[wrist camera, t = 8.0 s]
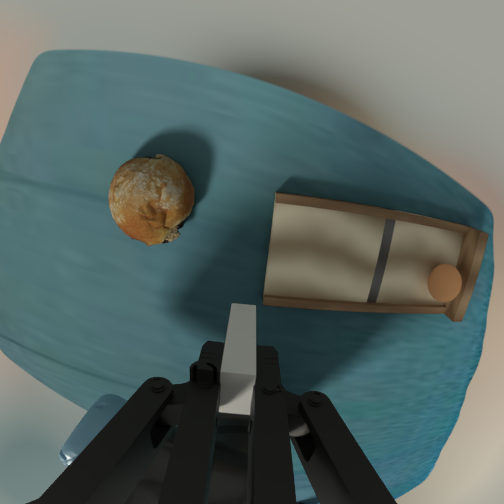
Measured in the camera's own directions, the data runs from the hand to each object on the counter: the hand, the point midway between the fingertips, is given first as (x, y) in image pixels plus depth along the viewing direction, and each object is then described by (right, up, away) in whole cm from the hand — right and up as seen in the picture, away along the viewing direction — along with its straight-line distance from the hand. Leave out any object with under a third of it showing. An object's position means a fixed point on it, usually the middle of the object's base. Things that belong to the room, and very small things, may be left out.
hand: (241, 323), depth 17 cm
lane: (+17, +4, +16) cm, 23 cm away
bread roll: (-11, +11, +14) cm, 21 cm away
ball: (+23, +1, +13) cm, 27 cm away
